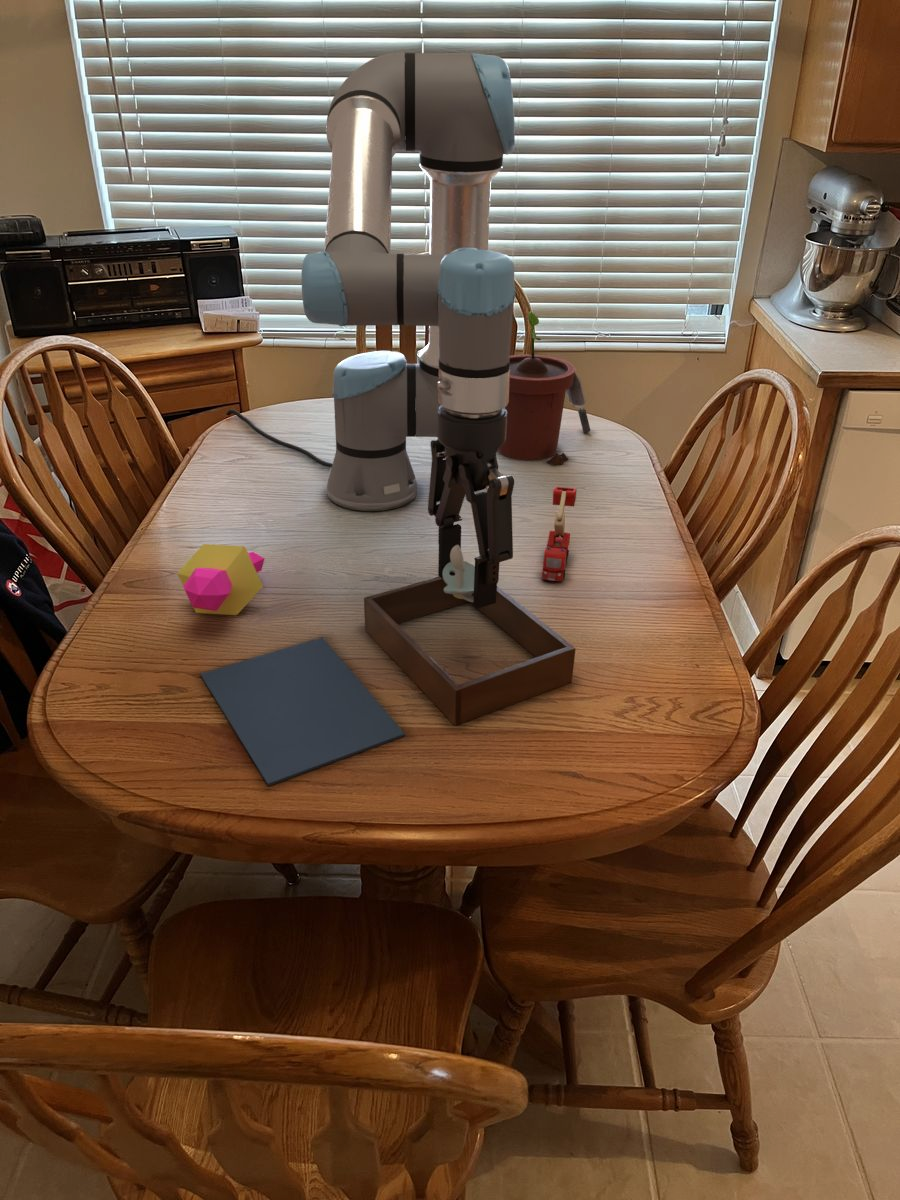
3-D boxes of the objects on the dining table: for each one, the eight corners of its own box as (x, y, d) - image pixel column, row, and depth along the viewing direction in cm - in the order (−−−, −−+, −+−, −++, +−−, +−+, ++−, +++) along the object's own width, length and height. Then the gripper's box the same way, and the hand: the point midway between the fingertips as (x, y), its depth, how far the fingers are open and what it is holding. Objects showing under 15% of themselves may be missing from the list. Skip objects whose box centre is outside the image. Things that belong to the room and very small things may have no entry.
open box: (364, 630, 117) (363, 597, 115) (471, 597, 125) (473, 566, 122) (454, 726, 101) (456, 690, 98) (572, 682, 108) (575, 648, 106)
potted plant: (482, 430, 180) (487, 303, 167) (589, 431, 181) (602, 304, 168) (488, 465, 165) (494, 327, 152) (605, 465, 166) (621, 328, 153)
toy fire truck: (540, 582, 129) (545, 521, 124) (550, 539, 140) (555, 482, 135) (563, 585, 128) (569, 524, 123) (571, 541, 140) (577, 484, 135)
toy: (288, 585, 128) (258, 518, 126) (252, 619, 111) (216, 542, 109) (225, 609, 130) (195, 543, 128) (180, 646, 113) (144, 571, 111)
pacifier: (489, 577, 111) (441, 576, 111) (493, 532, 108) (443, 531, 108) (494, 608, 105) (443, 608, 105) (499, 562, 102) (446, 561, 102)
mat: (200, 676, 108) (200, 673, 108) (322, 639, 115) (322, 637, 115) (268, 786, 92) (267, 783, 92) (404, 736, 99) (404, 733, 99)
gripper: (396, 384, 102) (399, 560, 114) (495, 445, 87) (486, 639, 99) (453, 374, 105) (449, 546, 117) (557, 431, 90) (541, 620, 103)
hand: (466, 588), depth 108 cm, fingers closed on pacifier, 7 cm apart
